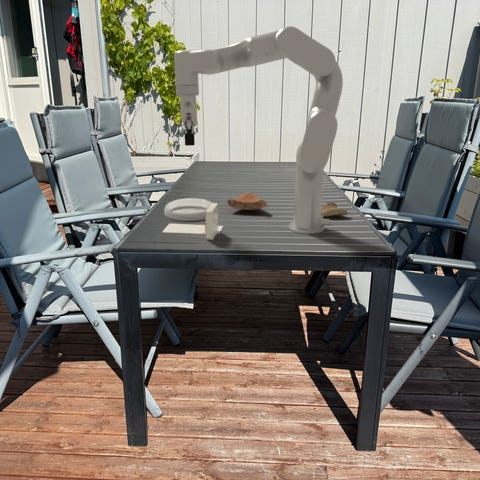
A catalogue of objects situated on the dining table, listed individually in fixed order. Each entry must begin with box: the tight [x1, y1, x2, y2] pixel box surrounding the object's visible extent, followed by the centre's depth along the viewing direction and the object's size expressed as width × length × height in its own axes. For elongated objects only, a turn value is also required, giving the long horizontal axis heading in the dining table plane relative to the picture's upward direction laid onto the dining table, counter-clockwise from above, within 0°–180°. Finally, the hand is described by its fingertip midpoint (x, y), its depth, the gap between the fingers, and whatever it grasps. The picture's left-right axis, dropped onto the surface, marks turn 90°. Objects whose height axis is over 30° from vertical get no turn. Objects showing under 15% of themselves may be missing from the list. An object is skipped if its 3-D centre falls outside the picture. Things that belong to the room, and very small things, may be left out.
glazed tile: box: [204, 202, 219, 241], centre depth 155 cm, size 2×10×10 cm, turn 172°
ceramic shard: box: [227, 191, 268, 211], centre depth 187 cm, size 15×6×15 cm
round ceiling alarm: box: [163, 197, 213, 222], centre depth 182 cm, size 25×25×6 cm
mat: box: [162, 223, 224, 235], centre depth 158 cm, size 20×20×1 cm
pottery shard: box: [321, 202, 349, 217], centre depth 181 cm, size 11×4×10 cm
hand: (189, 143), depth 157 cm, fingers open, 9 cm apart
